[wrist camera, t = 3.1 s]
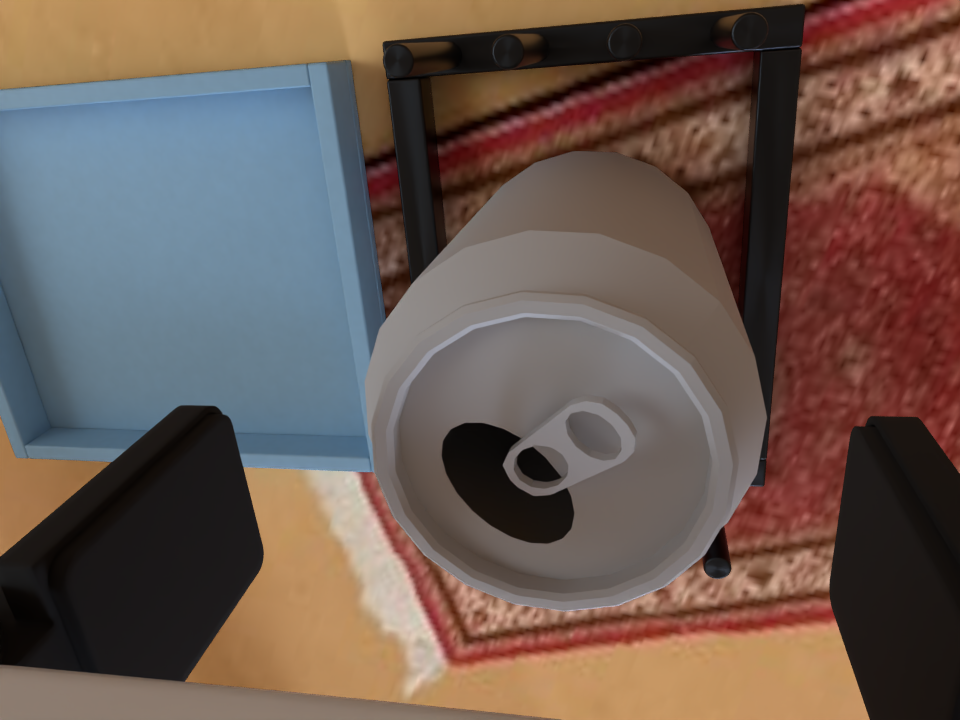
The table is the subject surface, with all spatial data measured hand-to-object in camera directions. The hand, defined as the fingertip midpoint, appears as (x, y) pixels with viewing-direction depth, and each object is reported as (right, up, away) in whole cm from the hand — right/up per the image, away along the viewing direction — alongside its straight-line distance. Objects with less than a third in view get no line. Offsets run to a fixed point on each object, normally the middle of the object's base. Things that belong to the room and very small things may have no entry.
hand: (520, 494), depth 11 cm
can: (+3, +5, +12) cm, 13 cm away
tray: (-11, +5, +15) cm, 19 cm away
